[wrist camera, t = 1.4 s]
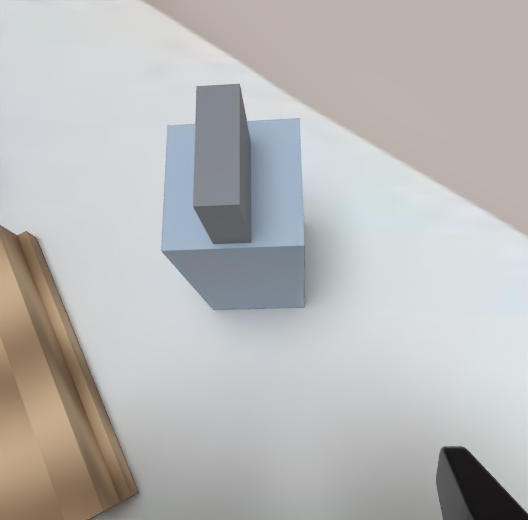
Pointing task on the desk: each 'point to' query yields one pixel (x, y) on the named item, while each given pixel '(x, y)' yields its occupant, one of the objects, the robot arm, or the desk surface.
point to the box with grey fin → (235, 204)
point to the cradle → (49, 402)
